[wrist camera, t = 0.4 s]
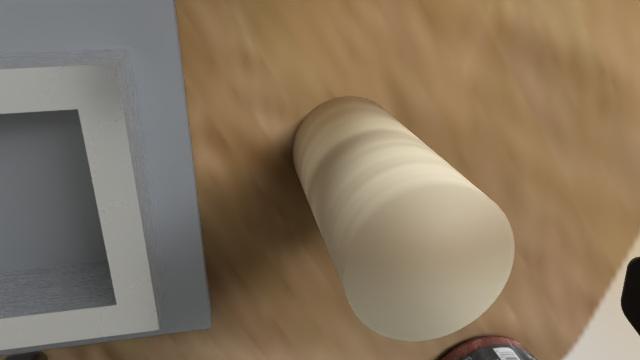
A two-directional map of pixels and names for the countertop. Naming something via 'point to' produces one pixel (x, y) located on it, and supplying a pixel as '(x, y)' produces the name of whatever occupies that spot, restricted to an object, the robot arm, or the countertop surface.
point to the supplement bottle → (490, 350)
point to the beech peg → (400, 223)
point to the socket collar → (111, 197)
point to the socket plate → (72, 162)
